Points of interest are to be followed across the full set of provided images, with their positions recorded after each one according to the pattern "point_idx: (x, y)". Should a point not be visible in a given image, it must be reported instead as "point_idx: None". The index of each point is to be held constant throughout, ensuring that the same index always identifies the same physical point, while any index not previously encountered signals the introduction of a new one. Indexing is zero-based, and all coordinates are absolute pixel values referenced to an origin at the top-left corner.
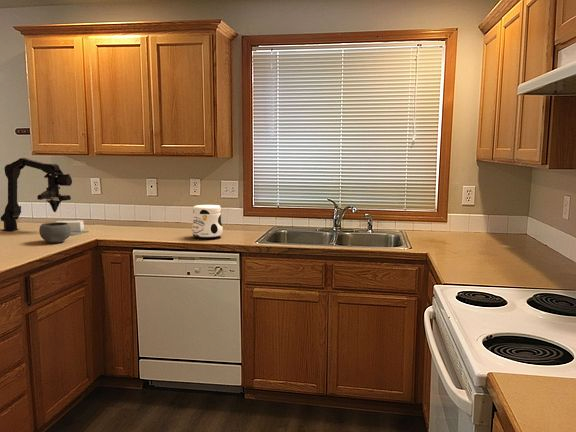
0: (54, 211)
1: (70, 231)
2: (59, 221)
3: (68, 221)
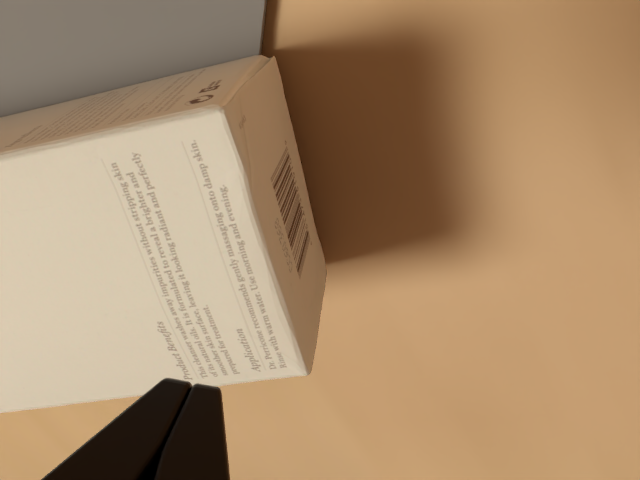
0: (165, 384)
1: (14, 114)
2: (193, 262)
3: (8, 279)
